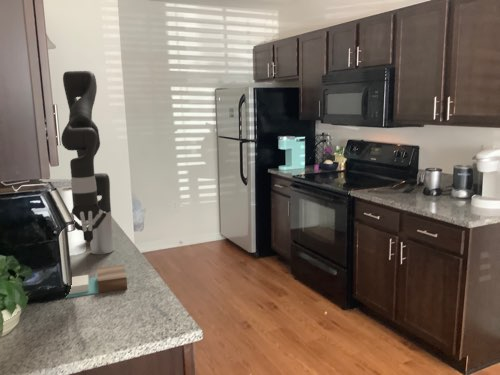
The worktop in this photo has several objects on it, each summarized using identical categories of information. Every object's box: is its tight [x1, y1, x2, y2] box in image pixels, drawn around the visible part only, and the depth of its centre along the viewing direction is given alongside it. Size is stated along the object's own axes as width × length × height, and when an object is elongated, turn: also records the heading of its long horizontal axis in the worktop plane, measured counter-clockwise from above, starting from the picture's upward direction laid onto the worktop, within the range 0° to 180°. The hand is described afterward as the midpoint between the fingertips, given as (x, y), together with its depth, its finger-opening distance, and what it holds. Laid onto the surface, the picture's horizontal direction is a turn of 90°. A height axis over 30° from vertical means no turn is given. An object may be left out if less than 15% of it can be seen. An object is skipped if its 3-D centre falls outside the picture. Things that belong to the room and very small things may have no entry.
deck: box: [96, 264, 128, 294], centre depth 148 cm, size 13×9×4 cm
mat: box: [64, 276, 100, 299], centre depth 145 cm, size 14×10×1 cm
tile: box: [69, 274, 89, 294], centre depth 144 cm, size 9×6×2 cm, turn 20°
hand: (88, 241), depth 144 cm, fingers closed
